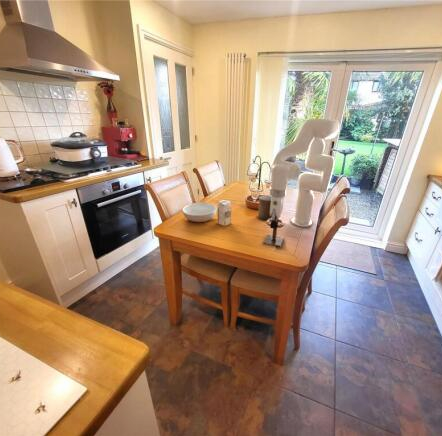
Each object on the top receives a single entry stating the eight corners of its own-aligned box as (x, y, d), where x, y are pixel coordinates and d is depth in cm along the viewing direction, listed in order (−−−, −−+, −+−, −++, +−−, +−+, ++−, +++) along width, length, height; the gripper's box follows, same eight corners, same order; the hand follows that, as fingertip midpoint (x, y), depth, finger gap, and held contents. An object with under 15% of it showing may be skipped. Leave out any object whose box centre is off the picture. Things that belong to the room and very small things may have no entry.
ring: (268, 219, 124) (268, 216, 123) (285, 222, 122) (286, 219, 121) (264, 226, 116) (264, 223, 115) (282, 229, 114) (283, 226, 113)
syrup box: (224, 221, 144) (224, 199, 138) (231, 224, 141) (231, 201, 135) (217, 224, 140) (217, 201, 134) (224, 227, 137) (224, 204, 131)
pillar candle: (272, 221, 146) (274, 199, 140) (256, 219, 148) (258, 197, 142) (273, 215, 155) (275, 193, 149) (258, 213, 157) (260, 192, 150)
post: (267, 236, 129) (269, 215, 123) (283, 239, 126) (286, 217, 121) (263, 244, 121) (265, 221, 115) (280, 248, 119) (283, 225, 113)
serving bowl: (198, 209, 160) (198, 199, 157) (223, 216, 150) (223, 206, 147) (175, 220, 143) (175, 209, 140) (202, 229, 134) (202, 218, 131)
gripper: (283, 198, 100) (278, 235, 108) (288, 188, 114) (284, 221, 122) (266, 195, 102) (263, 233, 110) (273, 186, 116) (269, 219, 124)
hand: (274, 226), depth 116 cm, fingers closed on ring, 2 cm apart
